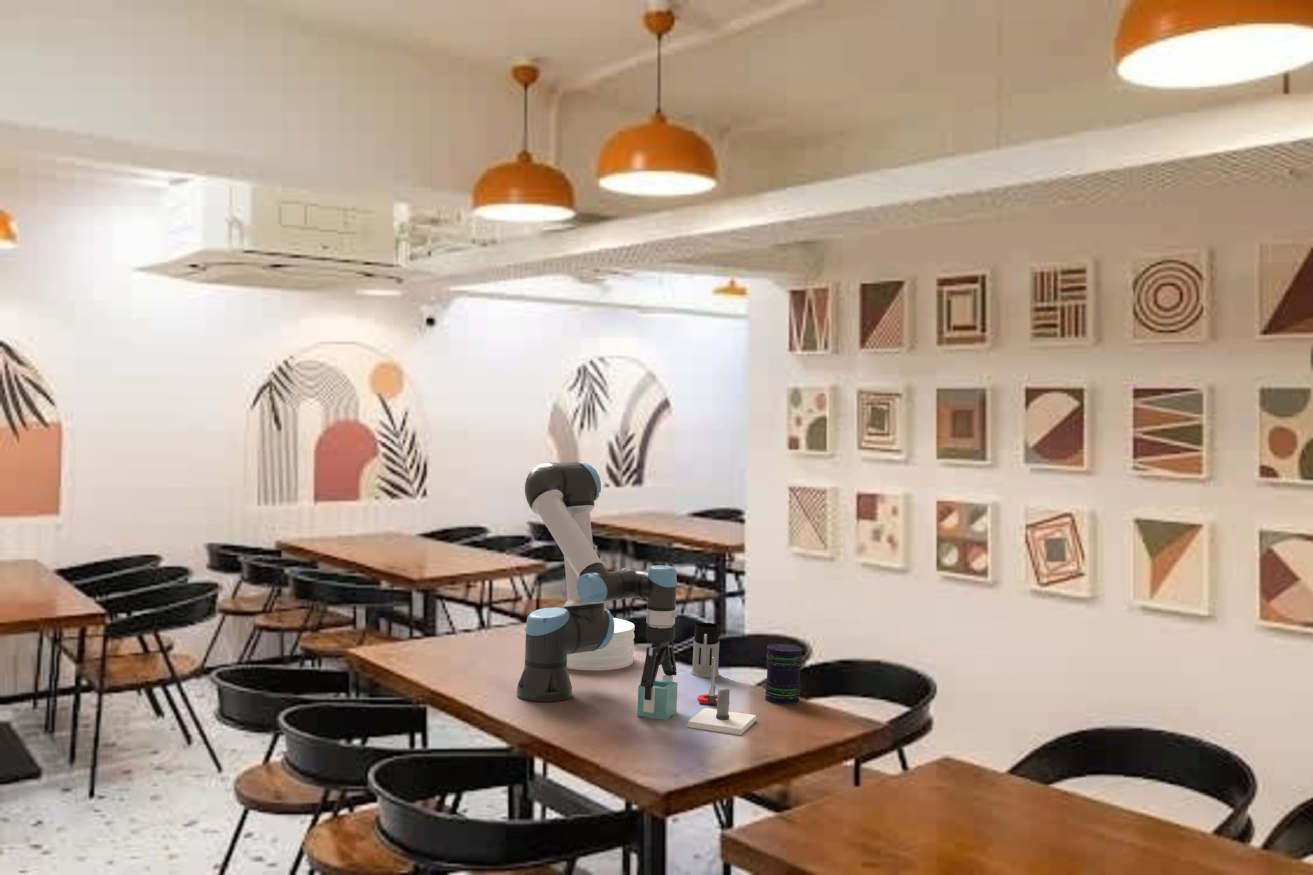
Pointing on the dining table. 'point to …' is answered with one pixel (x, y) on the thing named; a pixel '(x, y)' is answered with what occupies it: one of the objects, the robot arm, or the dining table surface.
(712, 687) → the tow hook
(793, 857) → the dining table surface
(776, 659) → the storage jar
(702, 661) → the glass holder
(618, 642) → the plate stack
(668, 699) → the sleeve
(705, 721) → the post stand
